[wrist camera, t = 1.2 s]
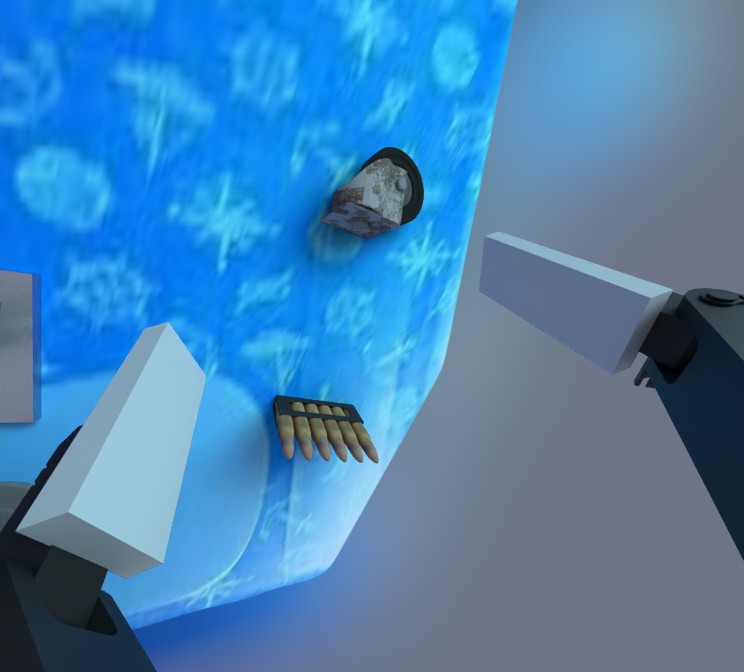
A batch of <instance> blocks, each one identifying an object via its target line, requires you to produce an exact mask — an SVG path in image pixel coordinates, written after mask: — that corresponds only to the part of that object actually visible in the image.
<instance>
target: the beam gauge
mask: <svg viewBox="0 0 744 672" xmlns="http://www.w3.org/2000/svg"><path fill="white" fill-rule="evenodd" d="M39 418H41V275H40V274H33V273H26V272H18V271H11V270H4V269H0V423H33V422H35V421H36V420H38V419H39Z"/></svg>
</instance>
